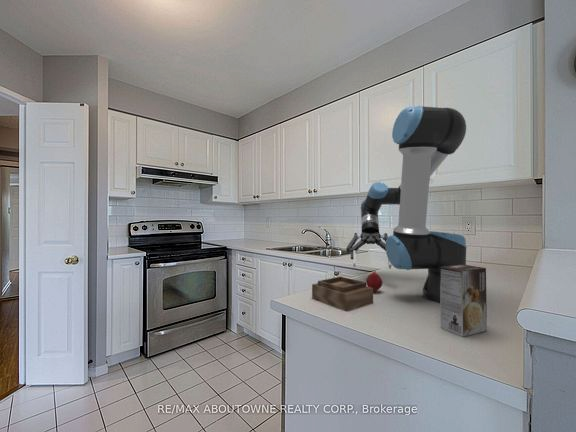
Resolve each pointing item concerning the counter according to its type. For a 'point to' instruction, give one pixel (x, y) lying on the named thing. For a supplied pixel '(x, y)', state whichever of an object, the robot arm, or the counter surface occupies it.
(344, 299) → the stand
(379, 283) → the onion
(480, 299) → the coffee box
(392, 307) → the counter surface
